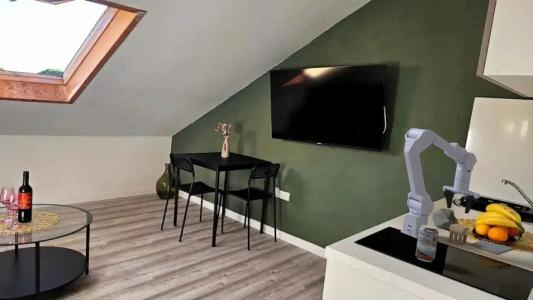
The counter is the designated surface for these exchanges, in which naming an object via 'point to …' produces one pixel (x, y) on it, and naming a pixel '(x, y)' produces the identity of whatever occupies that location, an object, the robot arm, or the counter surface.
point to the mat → (491, 247)
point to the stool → (458, 233)
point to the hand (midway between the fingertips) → (457, 210)
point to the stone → (444, 218)
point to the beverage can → (427, 243)
